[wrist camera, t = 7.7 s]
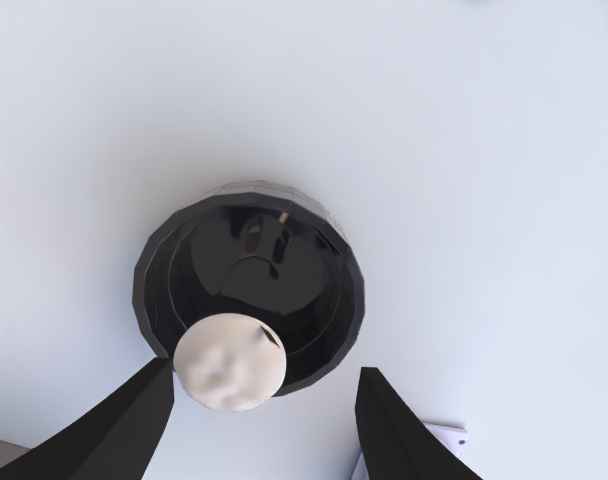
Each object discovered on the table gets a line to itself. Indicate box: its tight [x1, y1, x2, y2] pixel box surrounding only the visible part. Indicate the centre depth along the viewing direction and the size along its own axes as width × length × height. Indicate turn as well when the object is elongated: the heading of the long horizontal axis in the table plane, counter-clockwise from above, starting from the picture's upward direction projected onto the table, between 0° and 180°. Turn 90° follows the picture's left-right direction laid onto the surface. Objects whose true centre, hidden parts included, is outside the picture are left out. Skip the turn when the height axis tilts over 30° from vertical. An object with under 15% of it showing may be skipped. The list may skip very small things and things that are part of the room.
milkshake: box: [173, 257, 286, 412], centre depth 16 cm, size 5×5×10 cm
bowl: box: [132, 180, 365, 397], centre depth 19 cm, size 12×12×4 cm
